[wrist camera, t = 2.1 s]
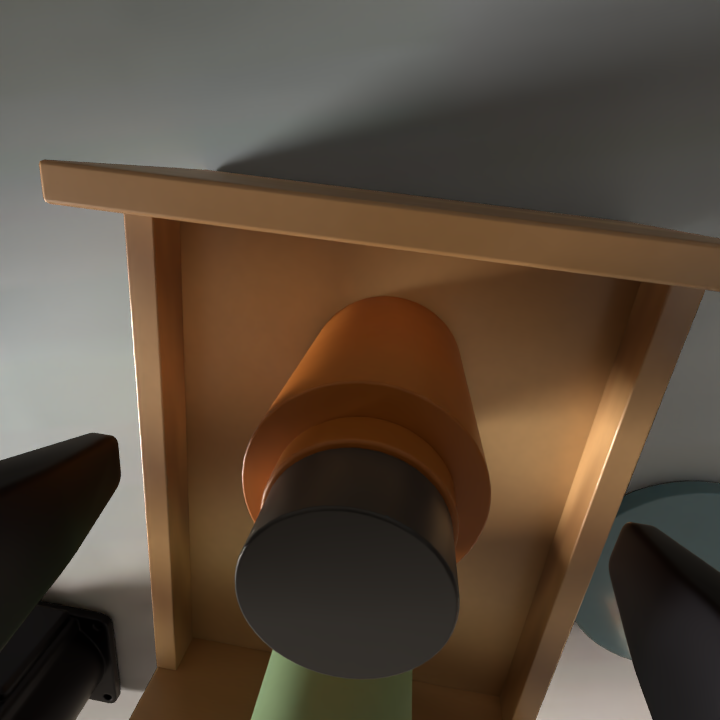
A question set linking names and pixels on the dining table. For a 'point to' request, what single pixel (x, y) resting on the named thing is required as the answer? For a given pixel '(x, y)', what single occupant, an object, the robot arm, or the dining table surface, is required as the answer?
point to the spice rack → (483, 375)
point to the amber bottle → (364, 496)
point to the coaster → (674, 518)
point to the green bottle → (330, 695)
